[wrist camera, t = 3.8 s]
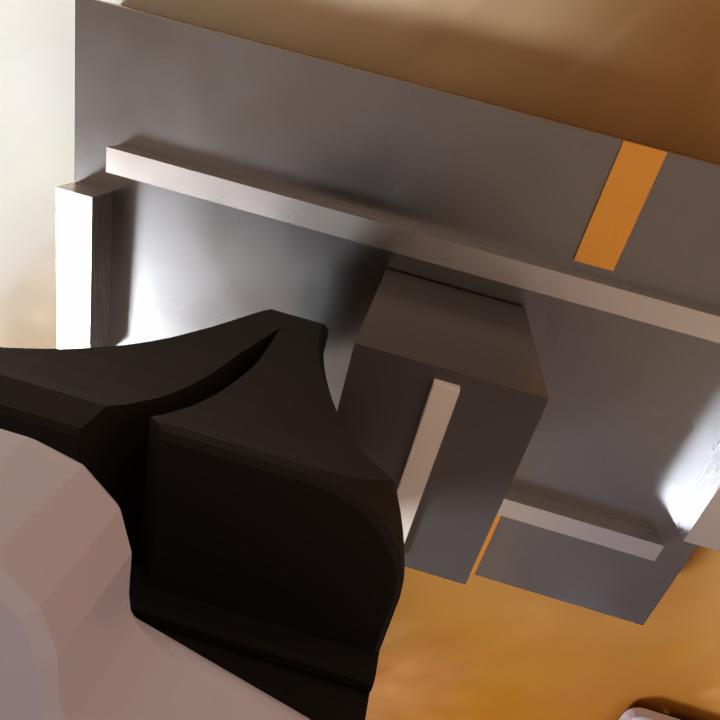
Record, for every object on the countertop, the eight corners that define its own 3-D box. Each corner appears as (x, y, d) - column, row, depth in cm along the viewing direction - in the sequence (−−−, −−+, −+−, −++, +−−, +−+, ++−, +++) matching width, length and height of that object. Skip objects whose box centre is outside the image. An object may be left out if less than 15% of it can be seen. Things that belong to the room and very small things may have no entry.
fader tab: (525, 307, 12) (551, 404, 8) (465, 459, 14) (465, 592, 10) (386, 269, 12) (351, 348, 9) (345, 423, 14) (302, 543, 10)
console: (869, 203, 12) (955, 229, 10) (628, 581, 17) (651, 651, 15) (117, 4, 12) (48, -12, 10) (103, 424, 17) (55, 470, 15)
